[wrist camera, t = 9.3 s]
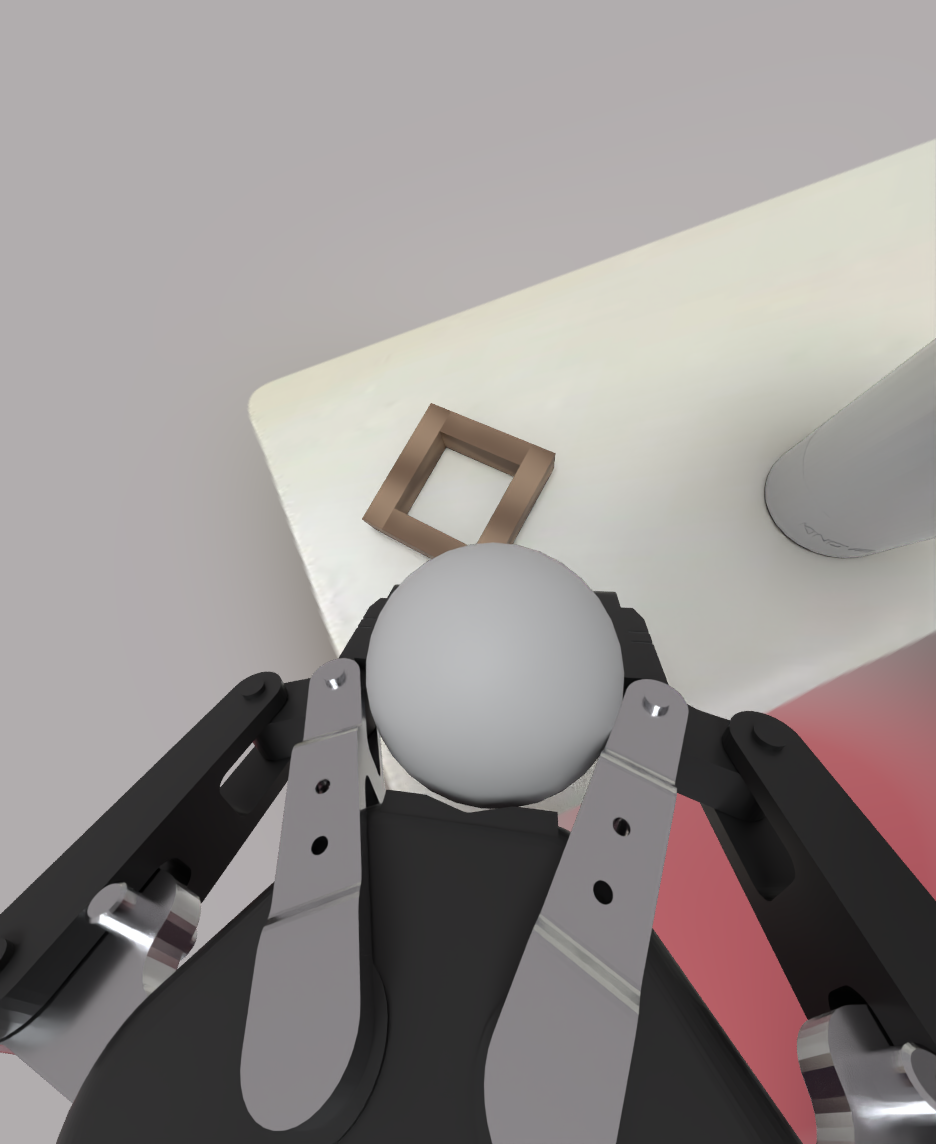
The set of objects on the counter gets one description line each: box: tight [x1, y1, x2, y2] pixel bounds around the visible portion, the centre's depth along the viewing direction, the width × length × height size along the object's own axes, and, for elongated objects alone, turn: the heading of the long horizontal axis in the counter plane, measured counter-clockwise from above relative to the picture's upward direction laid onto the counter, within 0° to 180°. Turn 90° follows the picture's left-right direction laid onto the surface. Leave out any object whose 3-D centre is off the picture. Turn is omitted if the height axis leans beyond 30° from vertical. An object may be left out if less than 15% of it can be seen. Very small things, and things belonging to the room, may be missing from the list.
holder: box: [362, 403, 556, 559], centre depth 30 cm, size 12×12×2 cm
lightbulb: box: [366, 543, 624, 809], centre depth 11 cm, size 6×6×11 cm
